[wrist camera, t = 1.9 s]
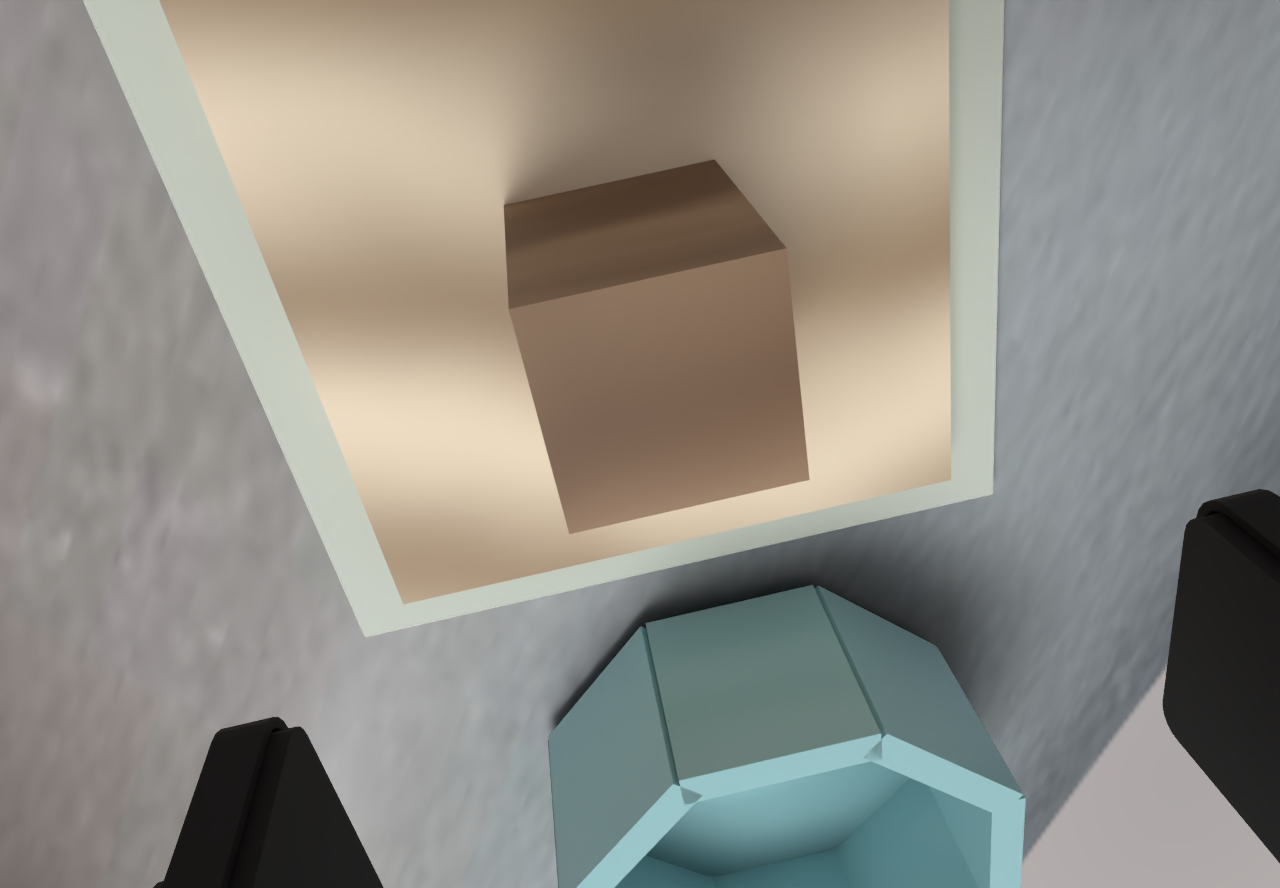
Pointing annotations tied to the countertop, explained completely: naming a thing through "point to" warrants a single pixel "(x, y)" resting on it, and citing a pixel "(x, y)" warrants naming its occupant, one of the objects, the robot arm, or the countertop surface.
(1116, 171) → the countertop surface
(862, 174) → the lid
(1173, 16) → the countertop surface
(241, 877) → the robot arm
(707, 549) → the mat
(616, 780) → the bowl
